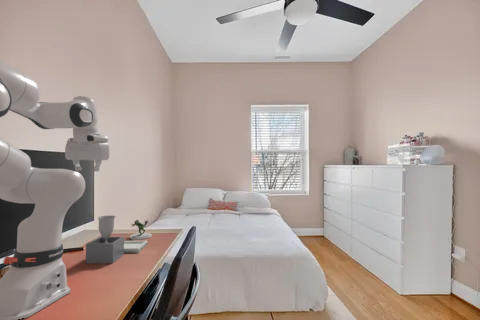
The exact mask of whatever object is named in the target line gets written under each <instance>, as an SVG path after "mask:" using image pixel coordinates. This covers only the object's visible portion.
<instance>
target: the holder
mask: <svg viewBox="0 0 480 320" xmlns="http://www.w3.org/2000/svg"><path fill="white" fill-rule="evenodd" d="M124 241H125V236H110V237H109V238H108V239H107V242H108V243H104V242H105V239H104V238H102V236H98V237H97V238H95V239H93V240H90V241H89V242H87V243H86V244H85V264H114V263H115V262H116V261H118V260H119V259H120V258H121V257H122V256H124V254H125V253H124Z"/></svg>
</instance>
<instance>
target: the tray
mask: <svg viewBox="0 0 480 320" xmlns="http://www.w3.org/2000/svg"><path fill="white" fill-rule="evenodd" d="M147 245H148V240H124V254H135V253H136V254H138V253H140V252H141V251H142V250H144V249H145V247H147Z"/></svg>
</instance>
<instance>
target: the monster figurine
mask: <svg viewBox="0 0 480 320" xmlns="http://www.w3.org/2000/svg"><path fill="white" fill-rule="evenodd" d="M148 222H149V220H144V223H141V221H140V220H138V219H135V221H134V223H131V227H135V226H136V227H137V229H138V232H135V233H133V234H131V235H129V239H131V240H132V241H142V240H147V239H150V238H152V236H153V234H152V233H150V232H146V230H145V229H144V228H145V227H146V225H147V224H148ZM141 231H143V232H141Z"/></svg>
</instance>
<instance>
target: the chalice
mask: <svg viewBox="0 0 480 320" xmlns="http://www.w3.org/2000/svg"><path fill="white" fill-rule="evenodd" d="M115 218H116V215H101V216H98V217H97V219H98V230H99V231H98V232H99V234H100V237H102V238H104V239H105V242H104V243H108V242H107V239H108V238H109V237H112V236H111V235H112V233H113V231H114V230H115V229H114V228H115Z"/></svg>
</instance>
